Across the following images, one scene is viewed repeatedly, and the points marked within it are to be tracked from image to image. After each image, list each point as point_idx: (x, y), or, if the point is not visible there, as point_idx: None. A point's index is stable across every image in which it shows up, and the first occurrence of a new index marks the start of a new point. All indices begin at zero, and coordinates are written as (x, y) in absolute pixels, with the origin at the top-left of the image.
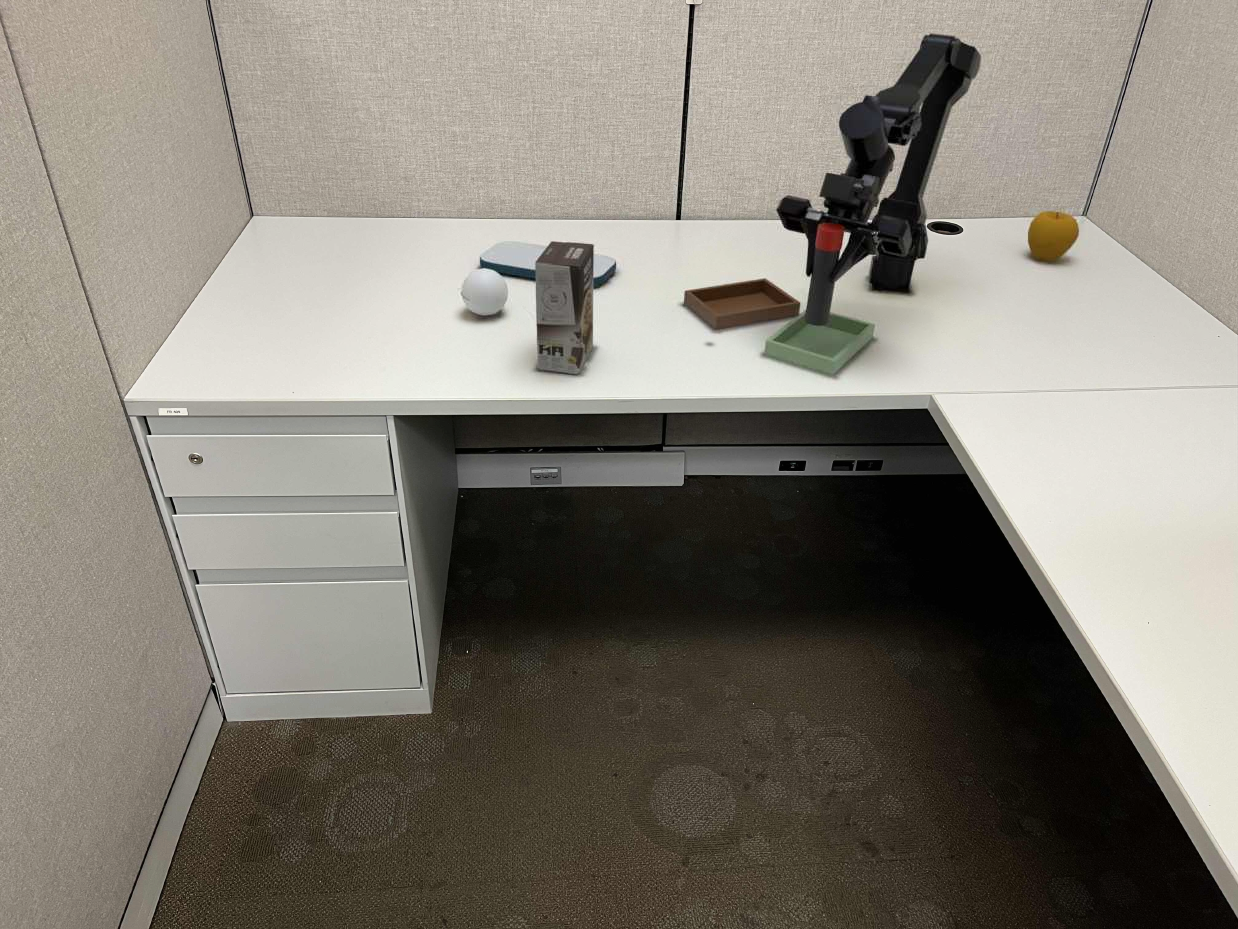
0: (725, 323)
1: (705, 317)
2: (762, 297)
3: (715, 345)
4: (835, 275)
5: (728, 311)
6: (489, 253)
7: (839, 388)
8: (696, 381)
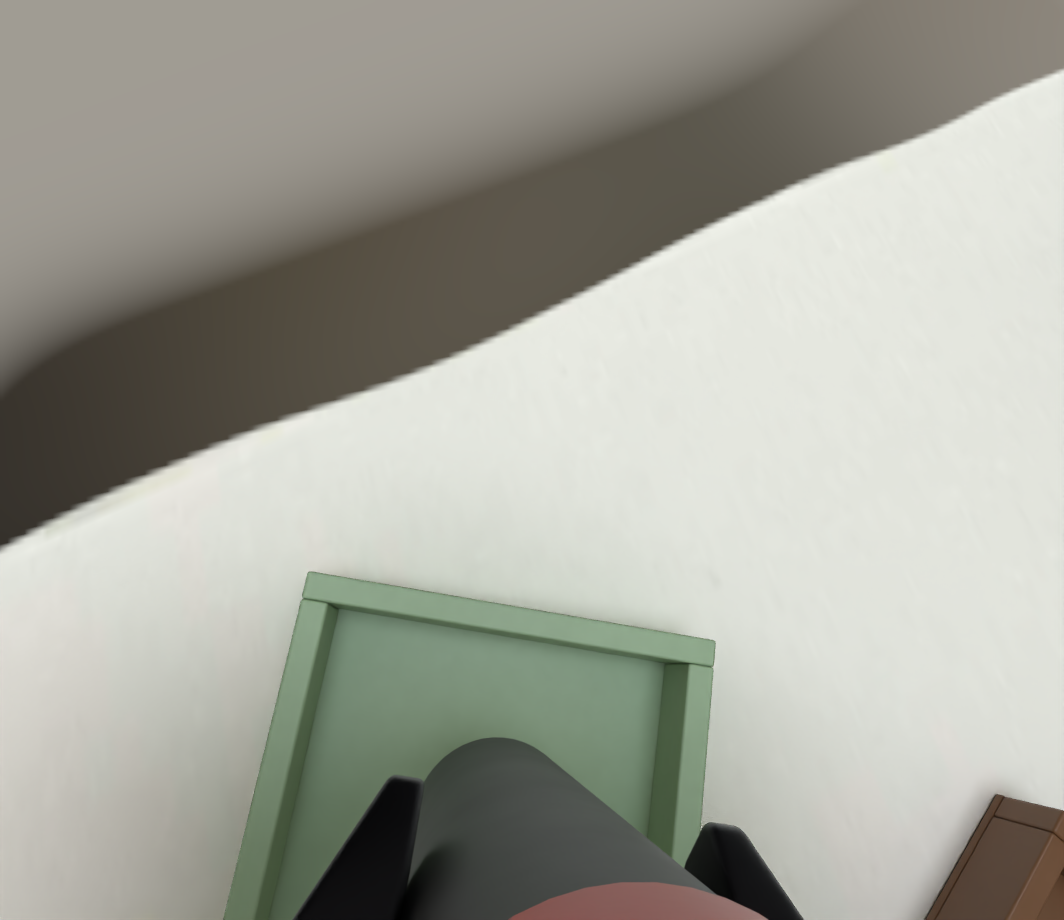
0: (995, 854)
1: None
2: None
3: (920, 640)
4: (366, 811)
5: None
6: None
7: (270, 485)
8: (830, 294)
